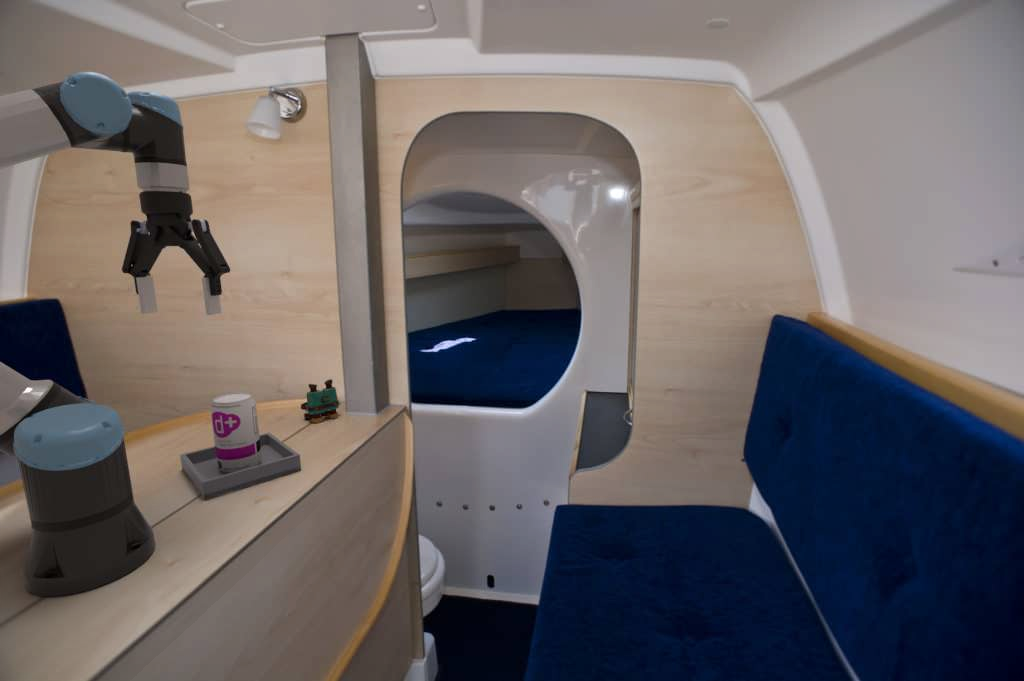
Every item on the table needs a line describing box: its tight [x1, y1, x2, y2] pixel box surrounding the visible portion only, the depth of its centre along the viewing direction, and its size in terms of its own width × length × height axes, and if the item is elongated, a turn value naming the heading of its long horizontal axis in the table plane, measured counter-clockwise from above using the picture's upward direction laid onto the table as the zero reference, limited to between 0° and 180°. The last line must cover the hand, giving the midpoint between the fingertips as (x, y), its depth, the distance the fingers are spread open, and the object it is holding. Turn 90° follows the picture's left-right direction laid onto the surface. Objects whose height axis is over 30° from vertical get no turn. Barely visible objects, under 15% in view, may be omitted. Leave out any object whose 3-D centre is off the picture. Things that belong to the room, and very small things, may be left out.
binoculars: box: [300, 378, 340, 424], centre depth 140 cm, size 9×11×10 cm
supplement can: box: [209, 392, 262, 473], centre depth 107 cm, size 8×8×15 cm
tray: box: [179, 432, 302, 501], centre depth 108 cm, size 18×18×4 cm
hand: (181, 313), depth 93 cm, fingers open, 13 cm apart
